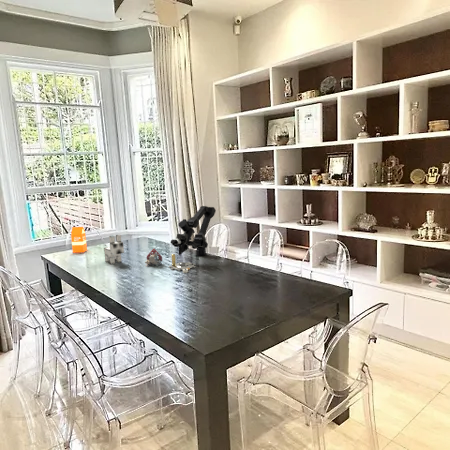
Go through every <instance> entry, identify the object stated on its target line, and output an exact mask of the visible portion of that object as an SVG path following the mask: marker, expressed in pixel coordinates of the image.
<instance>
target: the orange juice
mask: <svg viewBox="0 0 450 450" xmlns="http://www.w3.org/2000/svg"><path fill="white" fill-rule="evenodd" d="M70 238H71V239H70V240H71V247H72V253H73V254H74V253H85V252H86V251H87V250H88V248H87V246H88V245H87V237H86V231H85V228H84V226H72V227H71V234H70Z"/></svg>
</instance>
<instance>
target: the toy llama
mask: <svg viewBox="0 0 450 450" xmlns="http://www.w3.org/2000/svg"><path fill="white" fill-rule="evenodd" d="M115 238H116V241H115ZM108 239H109V246H108V247H104V248H103V249H104V262H105V263H109V264H111V265H115V264H116V263H118V264H119V263H122V254H125V250H124V248H125V247H124V242H123V241H122V235H121V234H119V233H118V234H115V235H109V236H108Z"/></svg>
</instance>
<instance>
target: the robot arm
mask: <svg viewBox="0 0 450 450" xmlns="http://www.w3.org/2000/svg"><path fill="white" fill-rule="evenodd" d="M216 211H217V210H216V208H215V207H214V206H207V205H201V206H199V209H198V210H197V211H196V213H195V214H194V215H193V216H191V217H189V219H184V218H183V219H182V220H180V221H179V223H178V227H179V228H180V229H181V230H182V232H183V233H177V234H176V237H175V239H171V240H170V244H171V245H172V246H173V247H174V248H178V255H179V256H181V255H182V254H183V253H184V252H186V251H187V250H189V249H190V247H191V248H192V249H195V251H196V253H195V256H198V257H204V256H207V255H208V253H207V250H206V249H207V248H208V246H209V243H208V242H207V241H206V240H207V239H206V234H207V231H208V228H209V225H210V223H211V222H210V221H211V219H212V218H213V217H215V214H216ZM202 218H203V220H202V223H201V226H200V229H199V230H198V231H199V232H198V233H196V231H195V229H196V228H198V226H199V224H200V220H201V219H202ZM193 234H195V235H194V238H193V240H192V236H193Z"/></svg>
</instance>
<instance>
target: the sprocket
mask: <svg viewBox="0 0 450 450" xmlns="http://www.w3.org/2000/svg"><path fill="white" fill-rule="evenodd" d="M176 260H177V259H176V254H175V253H172V254H171V265H168V268H169V269H170V270H171V271H173V270H174V271H175V270H177V271H183V269H185V268H186V269H188V271H189V270H190V269H194V268H196V263H191V261H188V262H184V261H179V262H178V263H176V262H177V261H176Z"/></svg>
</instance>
